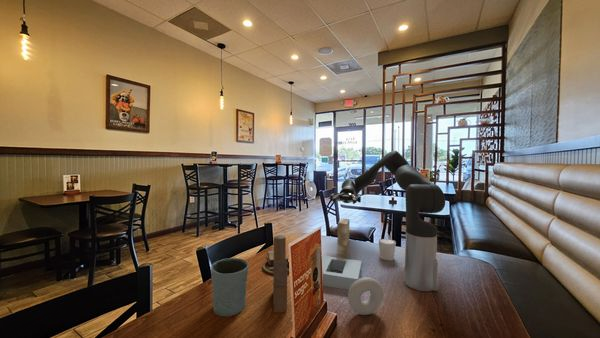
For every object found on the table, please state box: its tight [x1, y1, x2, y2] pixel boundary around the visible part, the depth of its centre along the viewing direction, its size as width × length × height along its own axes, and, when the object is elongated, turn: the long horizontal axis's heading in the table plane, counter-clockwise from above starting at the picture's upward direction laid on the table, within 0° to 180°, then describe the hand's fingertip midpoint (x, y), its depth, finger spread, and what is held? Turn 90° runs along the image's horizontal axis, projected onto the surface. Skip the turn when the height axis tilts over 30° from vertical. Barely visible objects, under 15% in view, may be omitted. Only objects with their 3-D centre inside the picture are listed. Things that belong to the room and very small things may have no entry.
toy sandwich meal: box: [262, 249, 290, 275], centre depth 96 cm, size 12×14×5 cm
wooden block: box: [272, 234, 288, 313], centre depth 73 cm, size 4×11×18 cm, turn 7°
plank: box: [336, 218, 351, 259], centre depth 103 cm, size 4×8×16 cm, turn 162°
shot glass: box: [378, 238, 397, 261], centre depth 105 cm, size 7×7×7 cm
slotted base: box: [321, 255, 363, 291], centre depth 88 cm, size 16×14×4 cm
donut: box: [347, 276, 384, 316], centre depth 67 cm, size 10×4×10 cm, turn 104°
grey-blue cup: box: [210, 257, 249, 317], centre depth 70 cm, size 10×10×12 cm
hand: (343, 201), depth 113 cm, fingers open, 8 cm apart
